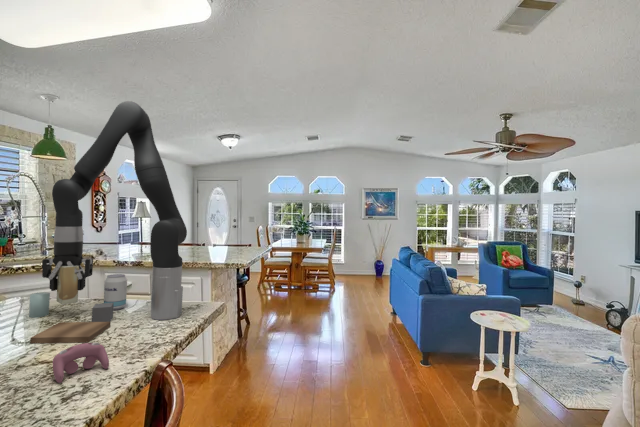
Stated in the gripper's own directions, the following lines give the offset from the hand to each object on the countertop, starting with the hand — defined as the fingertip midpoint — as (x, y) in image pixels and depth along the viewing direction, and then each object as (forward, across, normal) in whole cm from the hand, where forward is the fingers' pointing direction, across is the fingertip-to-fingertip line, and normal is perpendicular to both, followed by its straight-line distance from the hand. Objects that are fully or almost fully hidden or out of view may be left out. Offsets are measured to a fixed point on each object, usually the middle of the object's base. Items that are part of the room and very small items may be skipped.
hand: (67, 290), depth 105 cm
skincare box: (+4, 0, 0) cm, 4 cm away
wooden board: (+9, -10, +16) cm, 21 cm away
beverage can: (+9, -10, -9) cm, 17 cm away
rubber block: (+9, -12, +4) cm, 16 cm away
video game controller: (+10, -24, +39) cm, 47 cm away
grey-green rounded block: (+9, +10, -2) cm, 13 cm away
